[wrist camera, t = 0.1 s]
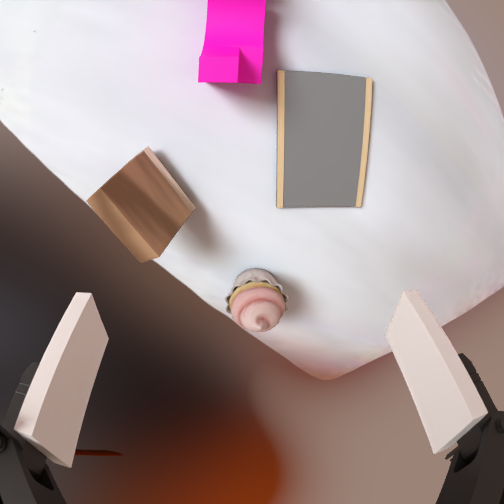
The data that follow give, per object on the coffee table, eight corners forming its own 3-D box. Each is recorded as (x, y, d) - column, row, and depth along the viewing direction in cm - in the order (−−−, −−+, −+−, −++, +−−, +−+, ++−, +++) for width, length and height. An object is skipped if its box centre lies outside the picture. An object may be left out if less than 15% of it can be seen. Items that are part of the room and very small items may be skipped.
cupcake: (296, 282, 48) (308, 328, 40) (253, 313, 51) (257, 360, 43) (256, 247, 44) (261, 291, 36) (212, 283, 47) (209, 330, 39)
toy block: (257, 83, 32) (263, 84, 26) (205, 82, 32) (198, 82, 25) (265, -24, 24) (272, -45, 18) (213, -26, 24) (208, -48, 18)
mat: (276, 70, 31) (277, 70, 31) (370, 78, 32) (372, 78, 31) (276, 205, 41) (276, 207, 40) (359, 204, 41) (360, 206, 41)
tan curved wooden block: (160, 257, 33) (196, 207, 39) (100, 187, 28) (148, 146, 34) (141, 263, 35) (176, 216, 41) (85, 200, 30) (130, 159, 36)
